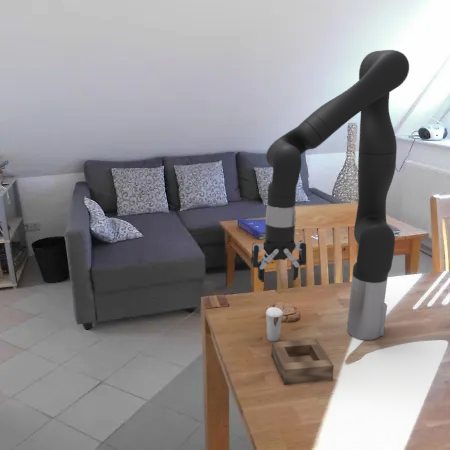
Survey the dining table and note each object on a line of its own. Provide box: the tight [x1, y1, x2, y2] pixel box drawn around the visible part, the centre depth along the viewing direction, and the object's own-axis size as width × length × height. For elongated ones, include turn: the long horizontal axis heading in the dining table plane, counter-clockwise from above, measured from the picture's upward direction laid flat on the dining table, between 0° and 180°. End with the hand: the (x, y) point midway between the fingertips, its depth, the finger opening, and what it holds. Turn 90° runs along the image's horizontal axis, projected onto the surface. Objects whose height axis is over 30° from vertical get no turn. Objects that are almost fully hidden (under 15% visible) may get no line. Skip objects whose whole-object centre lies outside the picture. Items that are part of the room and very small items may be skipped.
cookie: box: [265, 301, 301, 324], centre depth 147 cm, size 10×11×3 cm
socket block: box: [270, 338, 335, 385], centre depth 121 cm, size 12×12×4 cm
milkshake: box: [265, 307, 286, 342], centre depth 132 cm, size 4×5×10 cm
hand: (277, 280), depth 128 cm, fingers open, 8 cm apart
